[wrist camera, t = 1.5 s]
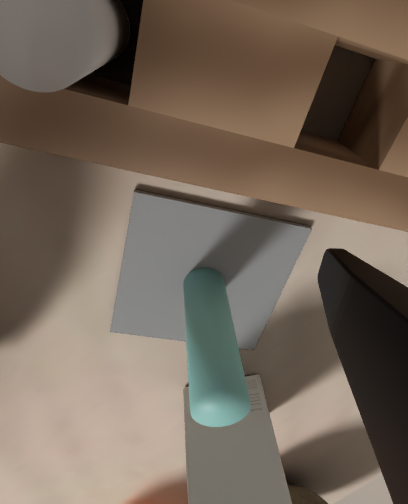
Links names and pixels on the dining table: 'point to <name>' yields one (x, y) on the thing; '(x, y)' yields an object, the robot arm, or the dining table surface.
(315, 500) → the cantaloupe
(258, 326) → the mat
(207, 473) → the supplement box
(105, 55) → the grey peg
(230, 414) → the teal peg
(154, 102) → the hole block
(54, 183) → the dining table surface
